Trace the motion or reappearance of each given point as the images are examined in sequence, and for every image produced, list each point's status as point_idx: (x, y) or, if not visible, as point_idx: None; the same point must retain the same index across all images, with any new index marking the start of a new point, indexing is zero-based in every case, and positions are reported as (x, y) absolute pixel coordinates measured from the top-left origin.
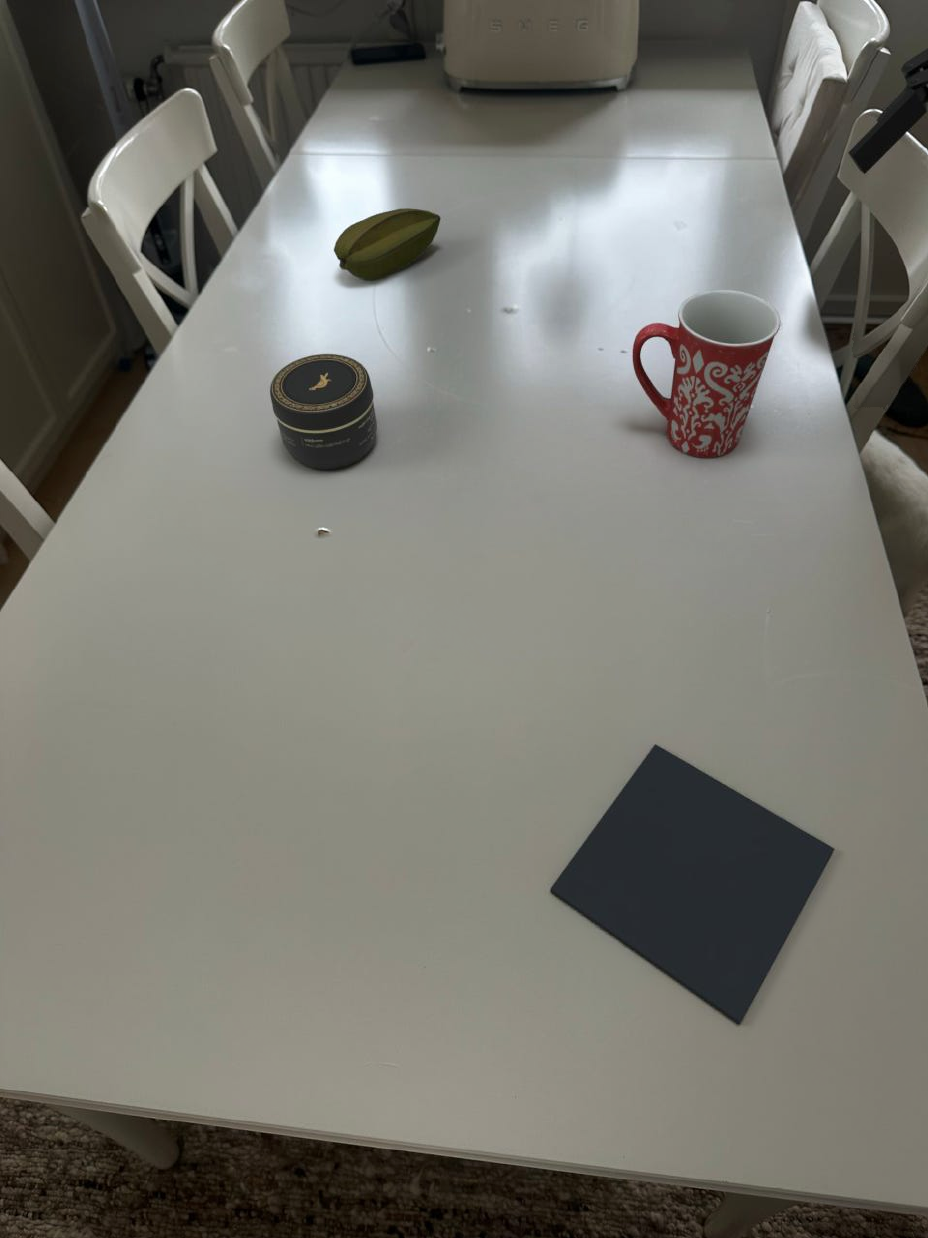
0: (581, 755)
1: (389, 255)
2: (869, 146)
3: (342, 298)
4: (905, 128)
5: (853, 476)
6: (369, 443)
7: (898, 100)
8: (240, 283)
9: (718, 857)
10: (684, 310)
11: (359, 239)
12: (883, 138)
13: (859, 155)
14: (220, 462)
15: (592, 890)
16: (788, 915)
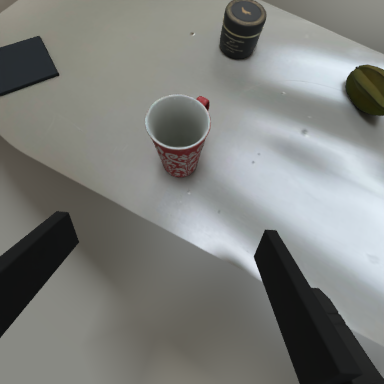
0: (70, 59)
1: (359, 89)
2: (270, 254)
3: (334, 77)
4: (282, 326)
5: (122, 205)
6: (225, 48)
7: (346, 341)
8: (356, 49)
9: (16, 69)
10: (198, 105)
11: (369, 68)
12: (275, 278)
13: (264, 240)
14: None
15: (31, 42)
16: None
